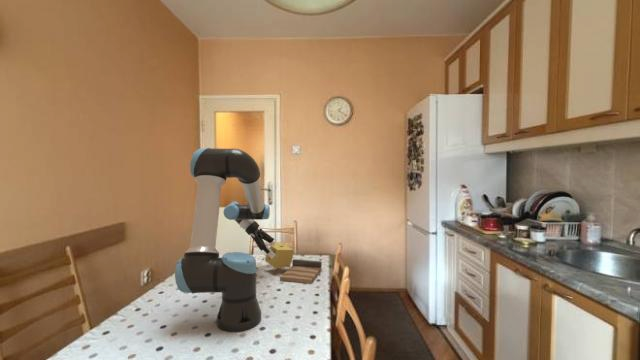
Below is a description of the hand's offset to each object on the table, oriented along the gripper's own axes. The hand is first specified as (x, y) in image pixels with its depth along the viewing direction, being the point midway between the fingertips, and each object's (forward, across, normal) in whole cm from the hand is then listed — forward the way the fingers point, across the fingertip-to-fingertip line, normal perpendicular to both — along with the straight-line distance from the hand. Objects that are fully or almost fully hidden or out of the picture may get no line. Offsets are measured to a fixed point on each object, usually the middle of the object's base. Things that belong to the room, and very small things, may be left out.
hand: (276, 253), depth 155 cm
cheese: (+4, -1, -4) cm, 6 cm away
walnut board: (+17, +5, +3) cm, 18 cm away
